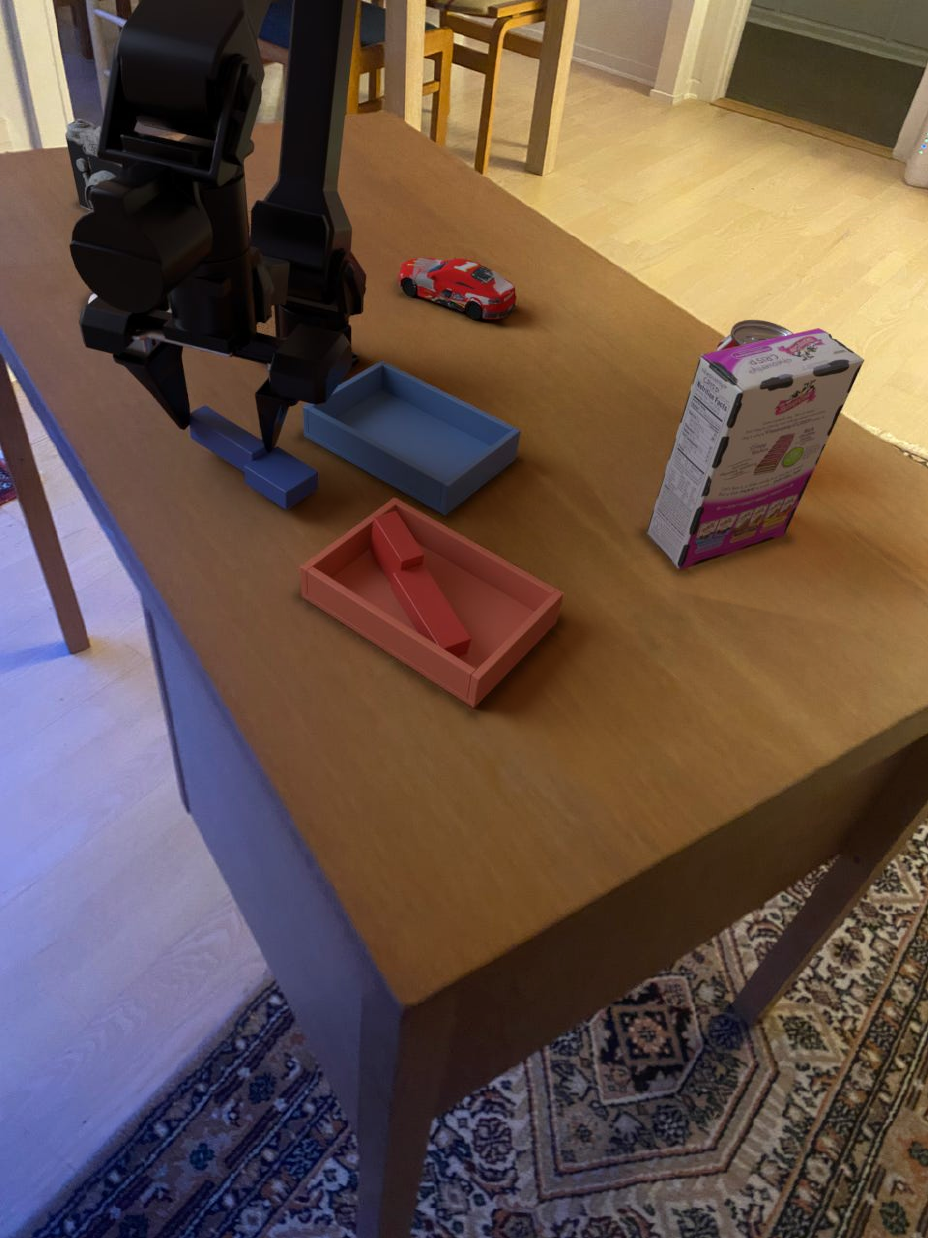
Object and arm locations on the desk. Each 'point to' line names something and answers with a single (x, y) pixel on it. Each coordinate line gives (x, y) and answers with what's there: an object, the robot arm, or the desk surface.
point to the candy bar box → (749, 443)
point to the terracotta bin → (470, 581)
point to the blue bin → (412, 435)
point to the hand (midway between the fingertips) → (228, 437)
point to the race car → (459, 286)
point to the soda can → (752, 333)
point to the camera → (87, 160)
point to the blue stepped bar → (254, 458)
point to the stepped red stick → (416, 585)
